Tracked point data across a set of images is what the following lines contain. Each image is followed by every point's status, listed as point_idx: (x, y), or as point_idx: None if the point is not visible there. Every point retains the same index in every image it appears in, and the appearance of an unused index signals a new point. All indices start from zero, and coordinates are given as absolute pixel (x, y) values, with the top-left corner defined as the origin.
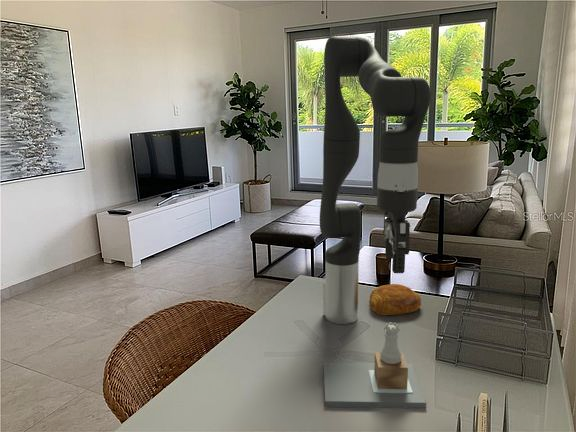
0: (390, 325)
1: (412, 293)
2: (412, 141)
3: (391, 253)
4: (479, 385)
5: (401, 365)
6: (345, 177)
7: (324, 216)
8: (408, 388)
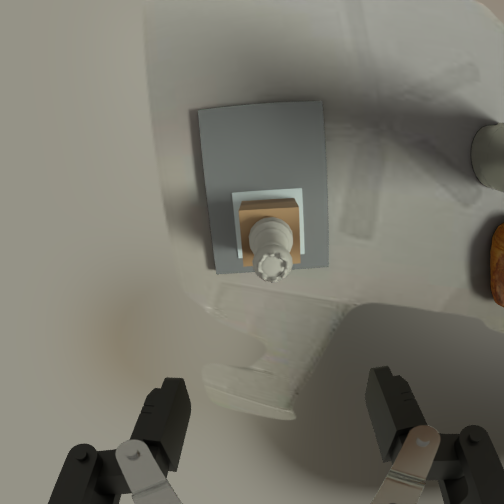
0: (277, 263)
1: None
2: None
3: (373, 400)
4: (283, 349)
5: (250, 255)
6: None
7: None
8: None
